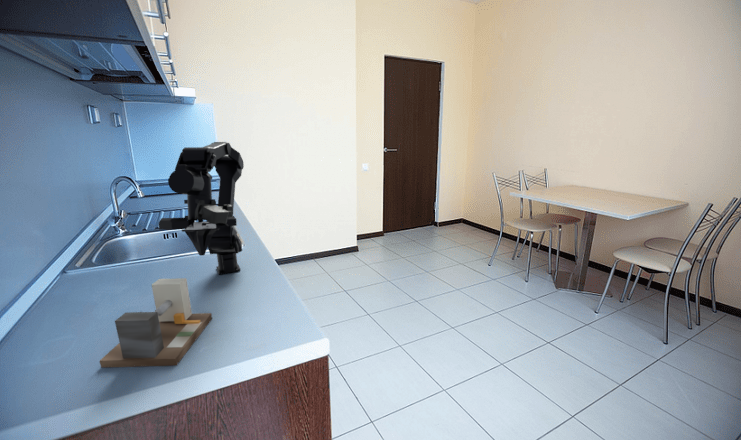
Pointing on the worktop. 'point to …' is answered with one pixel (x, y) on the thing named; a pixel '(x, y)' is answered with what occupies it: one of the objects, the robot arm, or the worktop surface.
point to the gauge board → (166, 352)
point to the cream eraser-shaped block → (171, 298)
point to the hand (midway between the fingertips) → (202, 255)
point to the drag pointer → (180, 319)
